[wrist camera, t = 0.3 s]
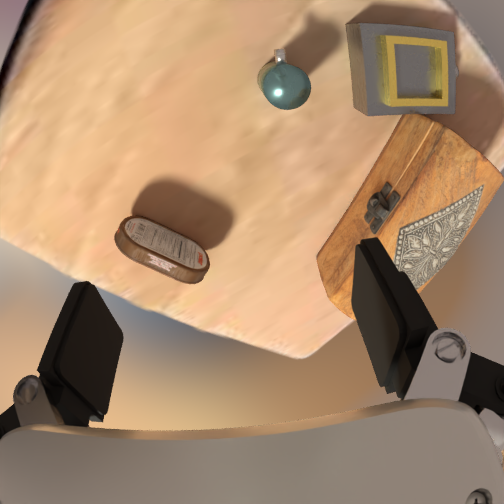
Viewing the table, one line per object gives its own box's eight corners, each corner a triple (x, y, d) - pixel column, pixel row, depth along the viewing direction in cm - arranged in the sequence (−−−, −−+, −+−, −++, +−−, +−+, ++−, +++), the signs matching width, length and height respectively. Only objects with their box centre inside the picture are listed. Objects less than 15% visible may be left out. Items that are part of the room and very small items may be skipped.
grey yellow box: (345, 24, 32) (364, 22, 27) (442, 31, 31) (469, 34, 26) (353, 107, 39) (372, 119, 34) (444, 105, 38) (469, 117, 33)
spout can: (252, 51, 34) (257, 52, 28) (291, 46, 34) (305, 47, 27) (260, 100, 38) (267, 112, 32) (298, 94, 38) (313, 106, 32)
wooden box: (402, 100, 38) (458, 129, 27) (467, 153, 43) (518, 192, 32) (305, 254, 54) (323, 316, 43) (375, 279, 59) (401, 334, 48)
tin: (121, 220, 48) (106, 252, 41) (128, 204, 46) (113, 236, 39) (204, 259, 53) (201, 294, 47) (213, 245, 52) (211, 281, 45)
